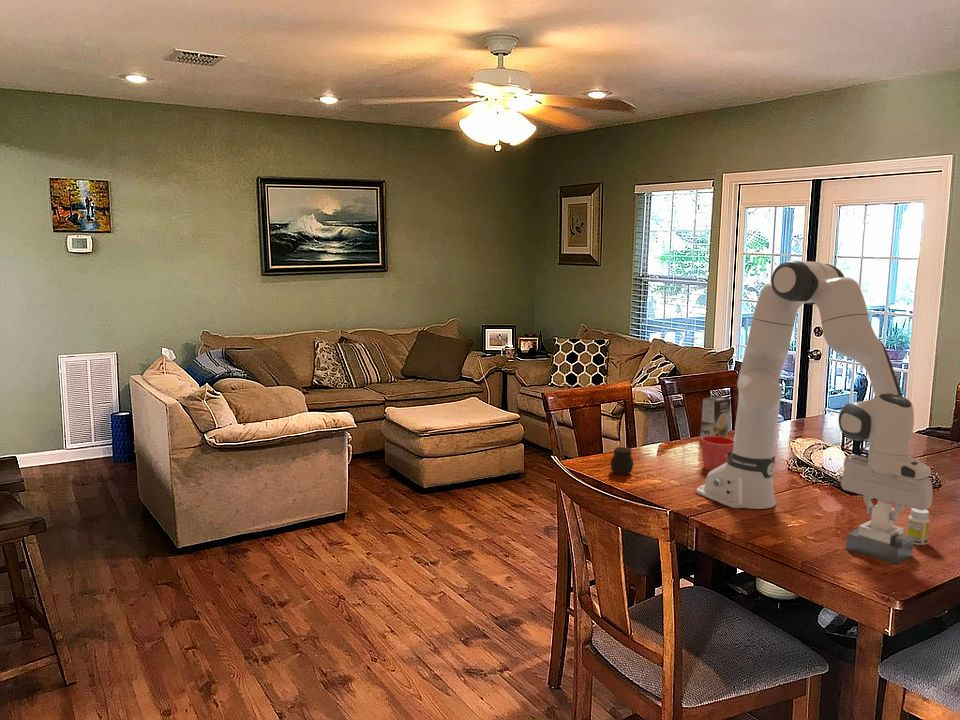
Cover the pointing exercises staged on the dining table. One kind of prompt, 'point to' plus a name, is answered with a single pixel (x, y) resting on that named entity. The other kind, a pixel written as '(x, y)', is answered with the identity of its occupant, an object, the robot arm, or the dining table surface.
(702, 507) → the dining table surface
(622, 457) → the mate gourd
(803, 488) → the dining table surface
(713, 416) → the coffee box
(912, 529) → the supplement bottle
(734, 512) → the dining table surface
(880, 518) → the white bottle
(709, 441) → the flower pot
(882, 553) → the block
